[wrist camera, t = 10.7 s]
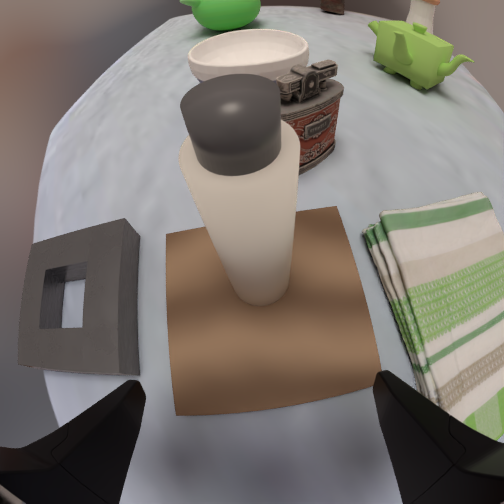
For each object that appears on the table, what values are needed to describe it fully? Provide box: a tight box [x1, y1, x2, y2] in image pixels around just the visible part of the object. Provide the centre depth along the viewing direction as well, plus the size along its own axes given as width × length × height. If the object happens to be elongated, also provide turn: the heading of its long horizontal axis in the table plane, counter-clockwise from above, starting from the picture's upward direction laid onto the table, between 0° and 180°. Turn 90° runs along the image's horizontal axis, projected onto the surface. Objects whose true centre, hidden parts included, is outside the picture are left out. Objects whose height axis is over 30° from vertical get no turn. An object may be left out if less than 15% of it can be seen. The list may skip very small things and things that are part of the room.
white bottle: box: [179, 74, 300, 306], centre depth 13 cm, size 4×4×14 cm
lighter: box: [276, 60, 344, 175], centre depth 21 cm, size 8×3×10 cm, turn 128°
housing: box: [18, 218, 140, 375], centre depth 19 cm, size 12×12×3 cm
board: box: [166, 206, 382, 416], centre depth 19 cm, size 14×14×1 cm
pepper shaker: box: [406, 0, 440, 35], centre depth 31 cm, size 7×7×19 cm
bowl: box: [188, 29, 309, 84], centre depth 28 cm, size 14×14×8 cm
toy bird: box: [180, 0, 261, 31], centre depth 42 cm, size 18×17×15 cm
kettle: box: [368, 21, 474, 90], centre depth 28 cm, size 15×14×11 cm
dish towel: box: [362, 192, 504, 441], centre depth 15 cm, size 17×23×4 cm
